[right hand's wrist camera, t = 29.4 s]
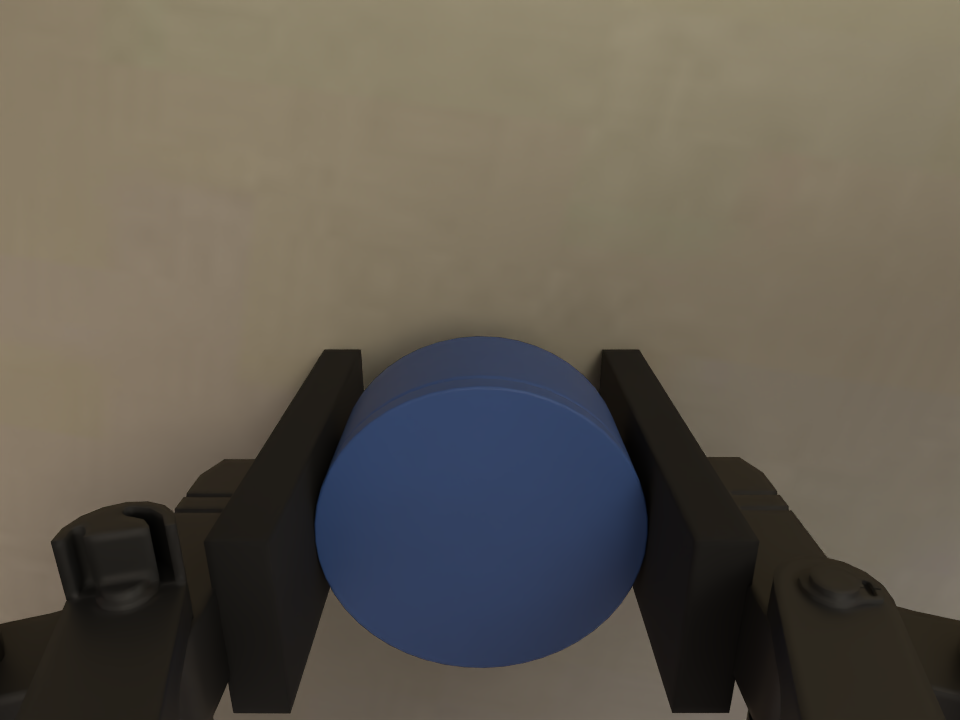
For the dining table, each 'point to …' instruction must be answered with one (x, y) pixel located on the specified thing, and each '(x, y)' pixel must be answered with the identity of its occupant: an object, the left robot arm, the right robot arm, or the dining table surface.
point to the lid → (481, 506)
